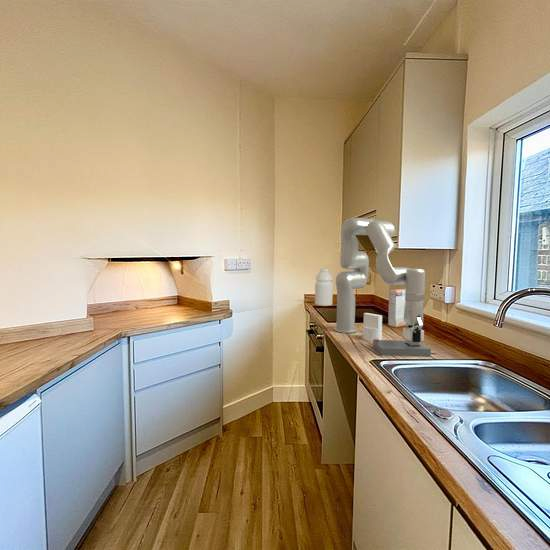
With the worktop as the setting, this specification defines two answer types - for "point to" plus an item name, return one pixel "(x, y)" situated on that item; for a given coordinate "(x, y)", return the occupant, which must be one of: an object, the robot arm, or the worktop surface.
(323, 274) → the bottle
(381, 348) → the socket plate
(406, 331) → the plug
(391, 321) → the cracker box
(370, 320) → the base with upright slab
